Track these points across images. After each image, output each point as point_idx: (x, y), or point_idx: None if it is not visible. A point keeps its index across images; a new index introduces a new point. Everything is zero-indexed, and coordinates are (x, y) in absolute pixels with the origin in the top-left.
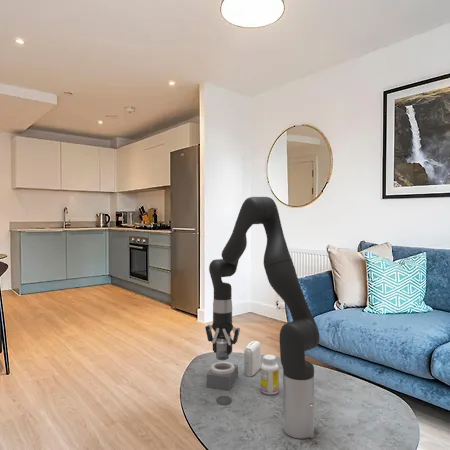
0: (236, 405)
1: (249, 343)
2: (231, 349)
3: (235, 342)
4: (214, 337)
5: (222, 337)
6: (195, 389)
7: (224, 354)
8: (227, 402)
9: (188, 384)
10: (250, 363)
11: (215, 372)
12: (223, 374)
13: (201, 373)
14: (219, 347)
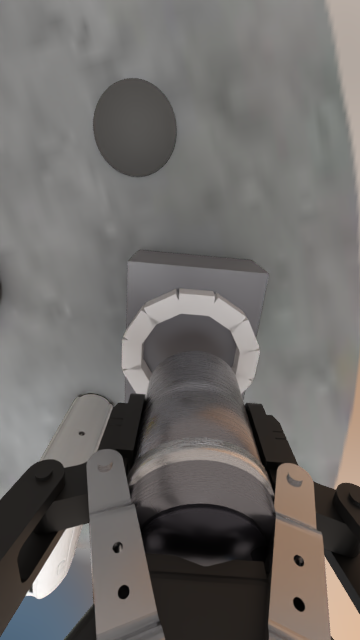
0: (60, 96)
1: (47, 563)
2: (107, 428)
3: (23, 477)
4: (306, 527)
5: (194, 541)
6: (302, 225)
7: (166, 379)
8: (109, 103)
9: (344, 269)
10: (64, 434)
11: (219, 295)
12: (169, 290)
13: (297, 382)
14: (214, 414)
